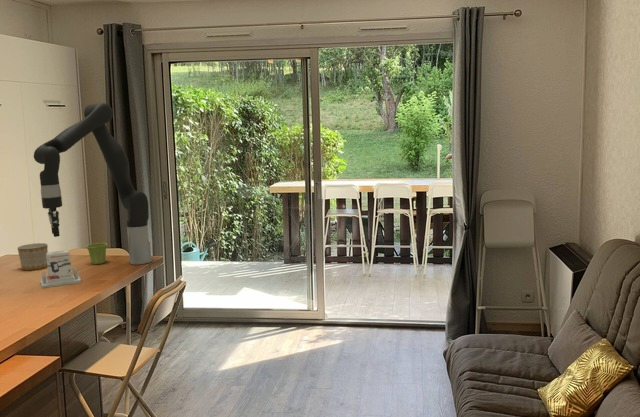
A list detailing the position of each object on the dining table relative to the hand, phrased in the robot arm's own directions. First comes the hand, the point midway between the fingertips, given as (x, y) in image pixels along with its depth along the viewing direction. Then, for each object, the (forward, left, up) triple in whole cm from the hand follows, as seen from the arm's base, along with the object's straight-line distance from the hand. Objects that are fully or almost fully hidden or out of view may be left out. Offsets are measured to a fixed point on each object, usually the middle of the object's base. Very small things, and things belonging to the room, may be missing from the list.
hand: (55, 235), depth 268 cm
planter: (+8, -38, -20) cm, 44 cm away
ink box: (0, 0, -19) cm, 19 cm away
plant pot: (-19, -30, -20) cm, 41 cm away
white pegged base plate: (0, 0, -20) cm, 20 cm away
